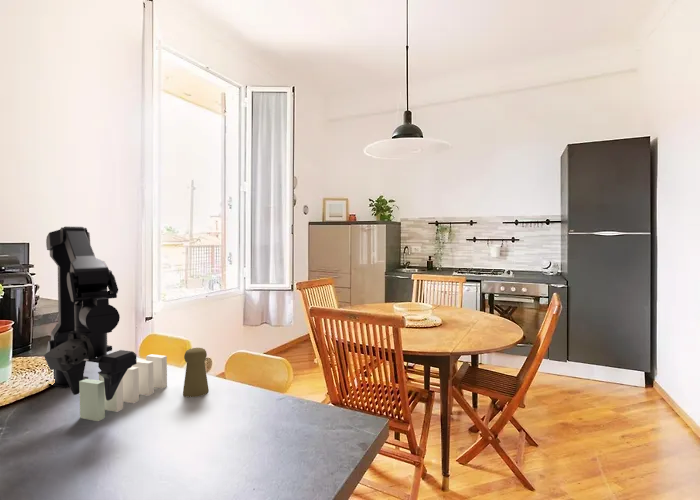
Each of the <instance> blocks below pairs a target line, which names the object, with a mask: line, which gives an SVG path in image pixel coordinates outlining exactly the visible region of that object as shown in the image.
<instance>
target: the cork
mask: <svg viewBox="0 0 700 500" xmlns="http://www.w3.org/2000/svg"><path fill="white" fill-rule="evenodd" d="M207 353H208V352H207V350H206V349H205V348H203V347H191V348H188V349H187V350H186V351H185V352H184V357H183V358H184V361H185V363H186V367H185V374H184V381H183V391H182V395H183V397H186V398H197V397H198V398H199V397H201V396H205V395H207V394H208V393H209V391H210V390H209V383H208V382H209V381H208V377H207V370H206V364H205V363H206V362H205V361H206V359H207V357H208V354H207Z"/></svg>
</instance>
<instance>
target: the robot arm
mask: <svg viewBox="0 0 700 500" xmlns="http://www.w3.org/2000/svg"><path fill="white" fill-rule="evenodd" d="M90 235H91V234H90V232H89V231H88V229H87V227H83V226H64V227H60V229H56V230H53V231H50V232H48V234H47V236H46V239H45V242H46V243H45V244H46V245H45V247H46V250H47V251H49V257H50V258H51V260H52V261H53V262H54V263H55V264H56V266H57V305H58V306H57V311H58V318H57V319H58V321H57V323H56V324H55V326H54V328H52V330H51V332H50V340H48V342H47V345H46V346H47V348H46V352H45V354H44V355H43V358H44V359H45V362H46V364H47V366H48V368H49V370H53V380H54V379H55V383H54V384H53V387H60V388H68V387H69V388H70V391H71V393H72V394H73V396H76V395H80V392H79V381H81V380H84V379H89V376H85V375H84V373H85V369H86V363H87V362H89V363H96V364H98V369H99V370H100V371H98V372H97V374H98V375H99V374H100V375H101V376H102V377H103V378H104V386H105V396H106V400H111V399H112V398H113V396H114V394H115V392H116V390H117V388H118V386H119V383H120V382H121V380H122V378H123V376H124V374H125V373H126V371H127V369H129V368H131V367H132V366H133V365H135V364H137V354H136V352H134V351H132V350H124V349H120V350H115V351H113V345H109V344H108V334H109V333H112V332H113V330H114V329H115V328H116V327H117V326H118V325H119V323H120V318H121V317H120V312H119V311H118V309H117V308H116V307H114V306H113V305H111V304H110V299H117V298H118V295H117V294H118V292H119V287H118V284H117V282H116V281H117V280H116V278H115V275H114V274H113V271H112V270H111V269H109V267H108V265H107V264H106V261H104V260H101V259H99V258H97V257H96V256H95V253H94V250H93V248H92V247H93V246H92V245H91V236H90ZM111 351H113V352H111ZM108 352H111V353H108Z"/></svg>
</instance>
